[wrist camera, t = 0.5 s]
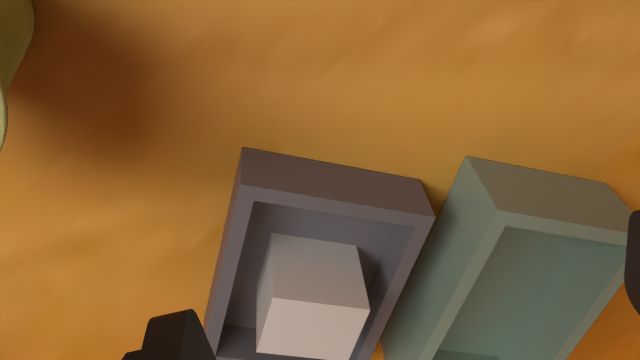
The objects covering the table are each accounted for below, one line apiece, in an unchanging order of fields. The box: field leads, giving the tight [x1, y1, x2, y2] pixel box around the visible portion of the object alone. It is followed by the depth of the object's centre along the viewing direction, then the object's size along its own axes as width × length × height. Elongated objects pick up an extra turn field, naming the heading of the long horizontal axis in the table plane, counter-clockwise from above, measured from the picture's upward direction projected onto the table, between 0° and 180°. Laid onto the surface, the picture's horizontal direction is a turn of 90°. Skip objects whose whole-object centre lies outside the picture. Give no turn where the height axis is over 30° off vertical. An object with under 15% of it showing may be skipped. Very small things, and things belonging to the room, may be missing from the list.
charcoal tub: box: [203, 147, 436, 360], centre depth 32 cm, size 13×10×4 cm
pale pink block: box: [256, 233, 370, 360], centre depth 31 cm, size 4×5×5 cm
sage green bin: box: [380, 156, 633, 360], centre depth 34 cm, size 15×9×5 cm, turn 165°
